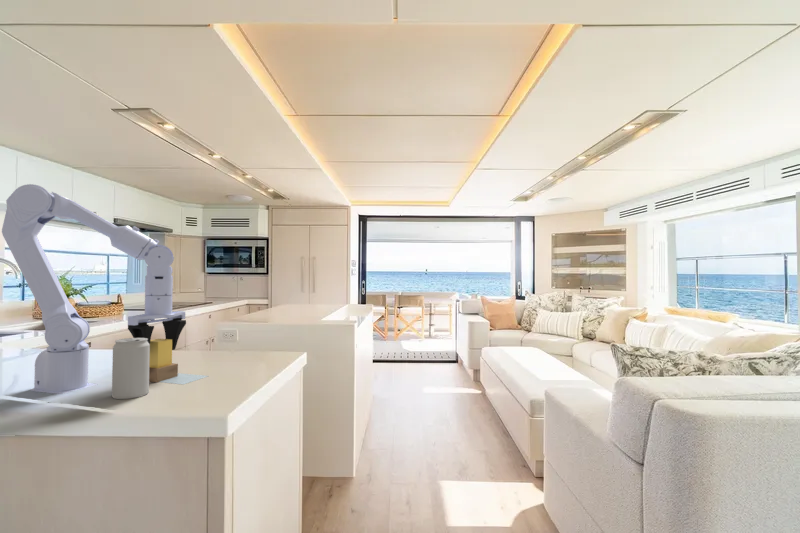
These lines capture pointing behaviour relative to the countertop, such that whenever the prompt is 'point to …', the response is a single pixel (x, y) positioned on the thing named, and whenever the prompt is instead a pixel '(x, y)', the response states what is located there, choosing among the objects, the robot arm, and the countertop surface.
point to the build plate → (183, 378)
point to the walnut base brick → (163, 373)
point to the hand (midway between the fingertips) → (157, 352)
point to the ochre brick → (160, 353)
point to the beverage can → (130, 368)
